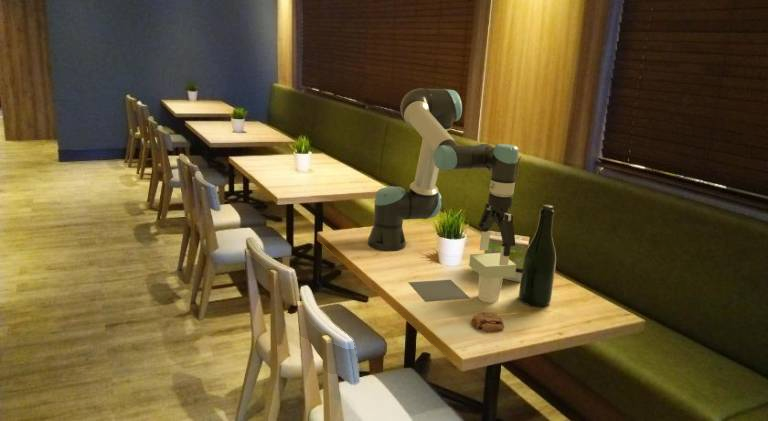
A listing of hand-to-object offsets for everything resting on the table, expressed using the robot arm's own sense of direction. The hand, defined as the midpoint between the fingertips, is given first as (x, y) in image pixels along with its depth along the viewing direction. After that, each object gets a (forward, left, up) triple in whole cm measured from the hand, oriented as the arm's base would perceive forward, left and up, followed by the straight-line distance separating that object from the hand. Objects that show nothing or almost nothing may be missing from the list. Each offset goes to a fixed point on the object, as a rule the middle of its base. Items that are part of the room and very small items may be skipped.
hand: (493, 257), depth 198 cm
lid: (0, 0, -5) cm, 5 cm away
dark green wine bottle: (+4, +15, -15) cm, 22 cm away
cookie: (+17, -9, -15) cm, 25 cm away
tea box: (-19, +16, -15) cm, 29 cm away
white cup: (0, 0, -15) cm, 15 cm away
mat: (-9, -14, -15) cm, 22 cm away
